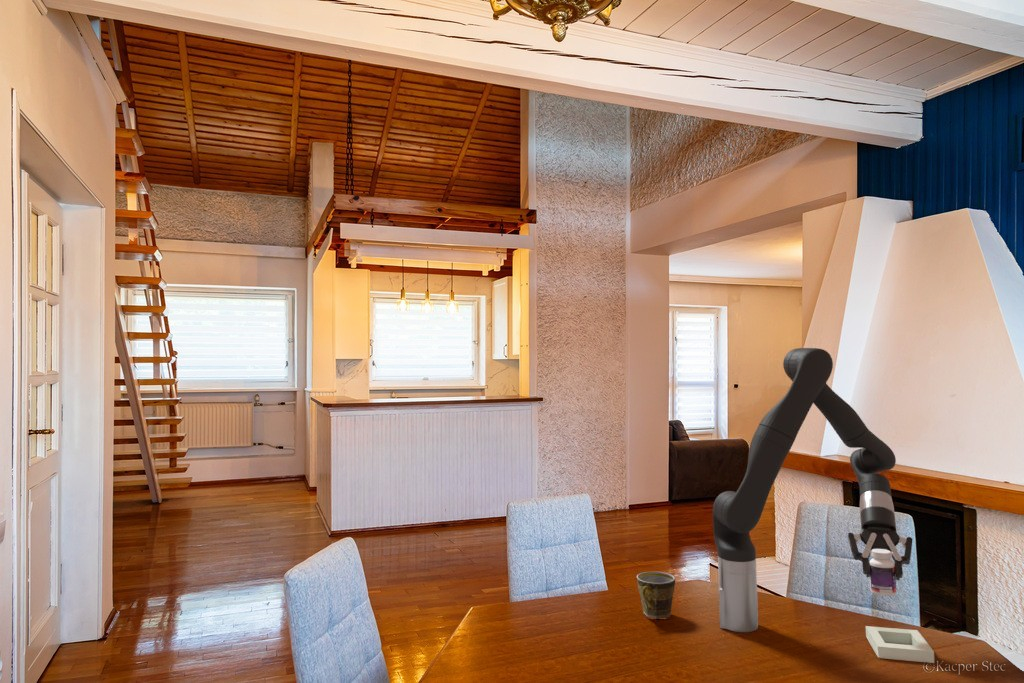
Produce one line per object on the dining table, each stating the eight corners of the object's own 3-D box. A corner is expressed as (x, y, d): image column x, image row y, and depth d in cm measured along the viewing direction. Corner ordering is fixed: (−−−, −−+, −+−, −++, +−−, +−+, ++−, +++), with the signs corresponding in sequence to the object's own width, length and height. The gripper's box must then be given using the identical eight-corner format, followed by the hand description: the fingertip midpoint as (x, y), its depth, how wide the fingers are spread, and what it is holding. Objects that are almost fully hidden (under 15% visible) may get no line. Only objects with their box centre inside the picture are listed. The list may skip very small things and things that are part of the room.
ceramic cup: (647, 606, 183) (646, 569, 184) (682, 613, 177) (680, 575, 178) (626, 621, 173) (625, 582, 173) (662, 629, 167) (661, 589, 167)
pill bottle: (900, 597, 152) (898, 554, 153) (874, 596, 153) (872, 553, 154) (891, 589, 158) (889, 547, 158) (866, 588, 159) (864, 547, 159)
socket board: (878, 657, 148) (877, 646, 149) (866, 636, 160) (865, 626, 160) (934, 663, 145) (933, 651, 145) (917, 640, 157) (917, 630, 157)
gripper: (844, 503, 166) (848, 565, 155) (911, 507, 160) (920, 572, 148) (845, 519, 170) (848, 581, 159) (910, 524, 164) (918, 588, 153)
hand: (883, 576), depth 154 cm, fingers closed on pill bottle, 5 cm apart
